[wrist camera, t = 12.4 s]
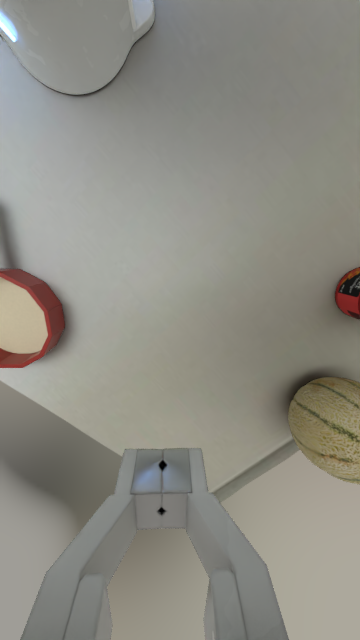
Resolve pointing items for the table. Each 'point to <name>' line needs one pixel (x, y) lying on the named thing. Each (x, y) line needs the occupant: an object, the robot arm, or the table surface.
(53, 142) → the table surface
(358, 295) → the canned food
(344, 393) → the cantaloupe
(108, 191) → the table surface
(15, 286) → the pan
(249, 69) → the table surface
